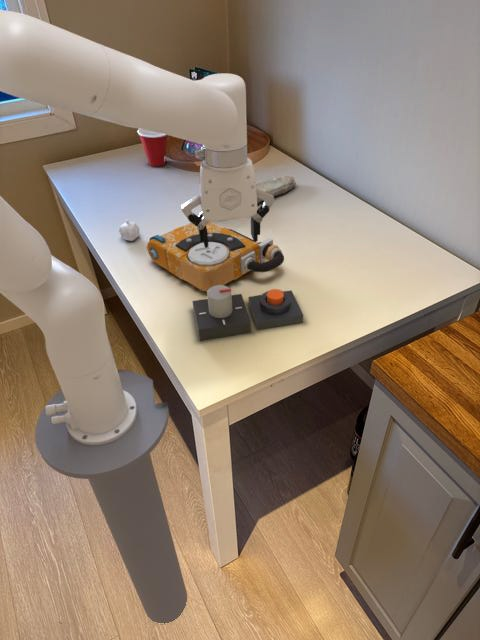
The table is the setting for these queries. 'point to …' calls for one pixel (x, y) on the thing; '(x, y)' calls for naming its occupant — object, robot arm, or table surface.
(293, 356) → the table surface
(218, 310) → the timer dial
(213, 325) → the timer panel
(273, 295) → the power button
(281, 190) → the elongated rock
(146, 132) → the plastic cup
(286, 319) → the button block
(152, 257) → the device
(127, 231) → the garlic
